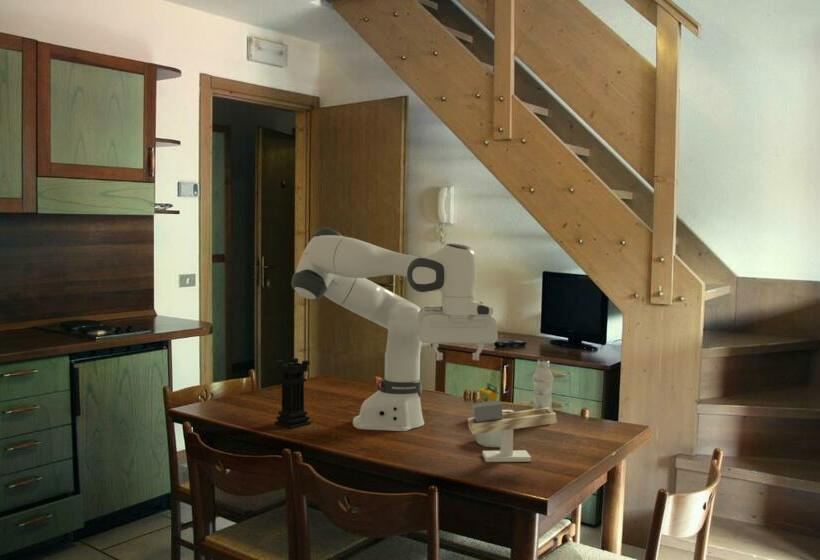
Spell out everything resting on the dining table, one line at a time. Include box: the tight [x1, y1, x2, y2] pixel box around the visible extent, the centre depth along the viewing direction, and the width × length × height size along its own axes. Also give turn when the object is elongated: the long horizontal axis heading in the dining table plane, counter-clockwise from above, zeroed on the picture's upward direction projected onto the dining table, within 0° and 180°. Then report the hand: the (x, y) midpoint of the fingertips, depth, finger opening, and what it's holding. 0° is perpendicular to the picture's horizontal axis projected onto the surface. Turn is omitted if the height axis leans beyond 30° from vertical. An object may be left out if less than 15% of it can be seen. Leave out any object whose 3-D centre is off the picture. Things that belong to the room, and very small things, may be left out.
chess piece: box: [274, 357, 312, 430], centre depth 233 cm, size 8×8×20 cm
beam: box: [467, 407, 558, 435], centre depth 196 cm, size 22×7×3 cm, turn 94°
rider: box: [471, 400, 503, 423], centre depth 195 cm, size 7×4×5 cm, turn 94°
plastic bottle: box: [532, 359, 554, 410], centre depth 239 cm, size 6×7×20 cm
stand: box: [482, 409, 532, 463], centre depth 202 cm, size 12×6×13 cm, turn 94°
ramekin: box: [474, 431, 501, 448], centre depth 216 cm, size 11×11×5 cm
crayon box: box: [479, 382, 498, 403], centre depth 241 cm, size 7×3×12 cm, turn 20°
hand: (457, 360), depth 194 cm, fingers open, 8 cm apart
